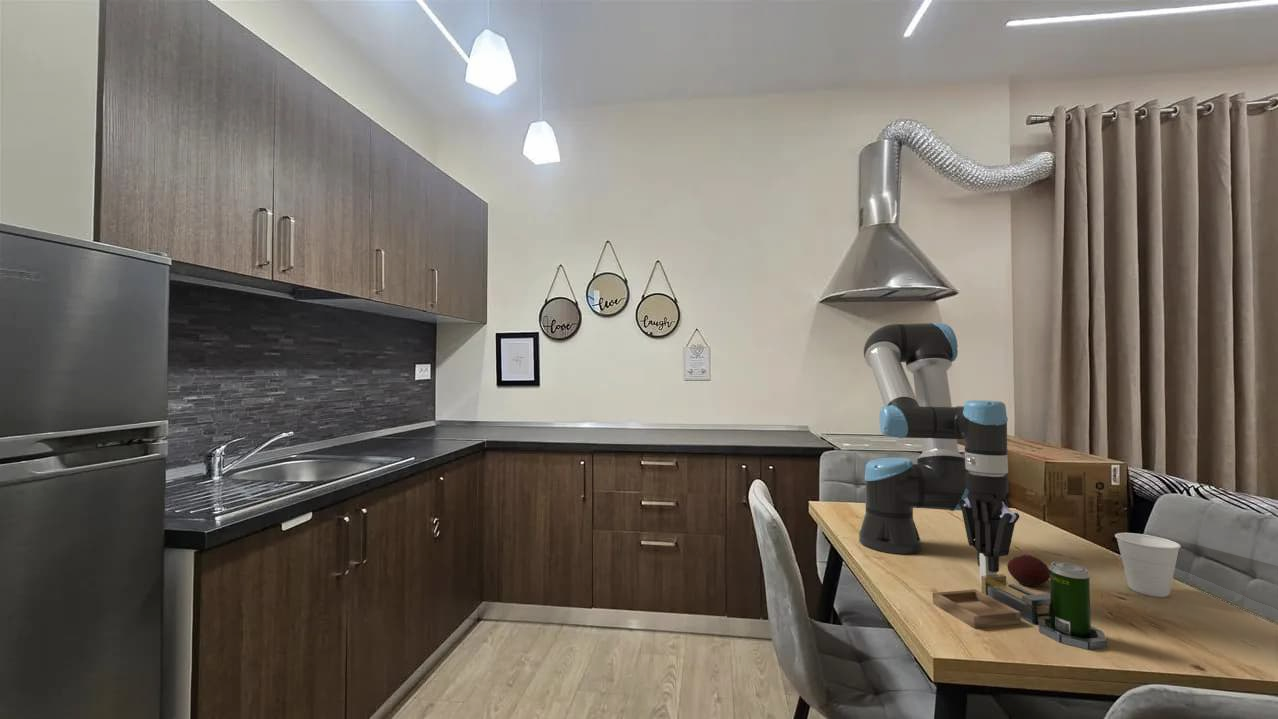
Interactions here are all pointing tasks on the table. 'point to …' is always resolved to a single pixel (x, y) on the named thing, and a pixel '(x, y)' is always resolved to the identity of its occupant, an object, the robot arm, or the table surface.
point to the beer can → (1070, 600)
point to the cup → (1148, 562)
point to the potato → (1028, 570)
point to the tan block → (1008, 591)
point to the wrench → (1045, 617)
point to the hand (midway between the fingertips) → (988, 585)
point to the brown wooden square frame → (976, 608)
